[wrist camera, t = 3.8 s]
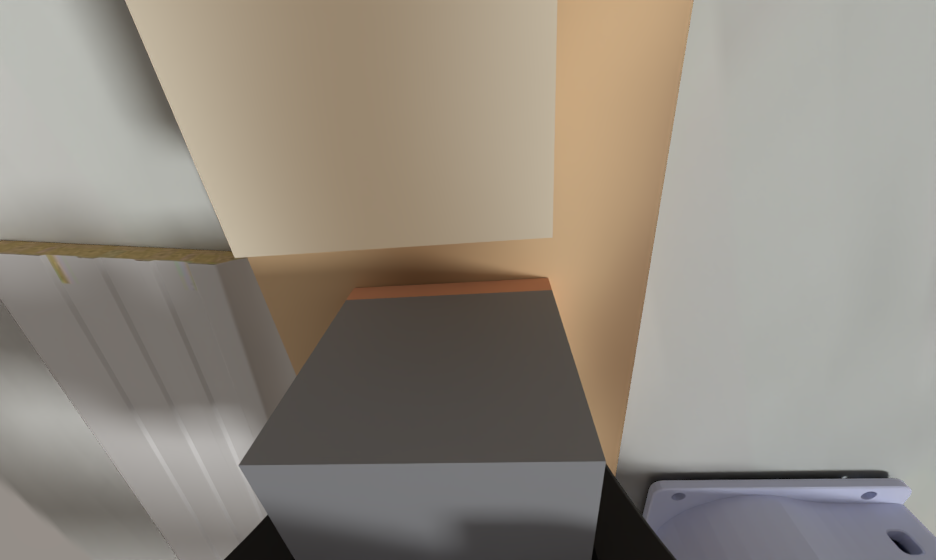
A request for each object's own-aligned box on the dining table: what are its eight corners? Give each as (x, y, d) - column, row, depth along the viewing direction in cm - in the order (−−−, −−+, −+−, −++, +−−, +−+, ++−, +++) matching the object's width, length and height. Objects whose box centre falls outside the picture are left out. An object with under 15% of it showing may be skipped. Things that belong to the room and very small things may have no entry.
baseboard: (330, 247, 11) (23, 233, 12) (285, 294, 9) (-104, 273, 9) (394, 639, 26) (256, 627, 26) (384, 698, 23) (232, 685, 24)
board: (736, -588, 5) (836, -860, 3) (598, 475, 15) (609, 514, 14) (40, -418, 6) (-103, -579, 4) (364, 478, 16) (353, 514, 15)
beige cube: (519, -80, 6) (563, -321, 2) (523, 169, 8) (552, 237, 4) (288, -47, 6) (32, -217, 3) (344, 184, 8) (234, 258, 5)
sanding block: (548, 277, 9) (605, 461, 5) (543, 493, 13) (571, 696, 9) (354, 287, 9) (238, 464, 5) (409, 494, 14) (372, 688, 9)
